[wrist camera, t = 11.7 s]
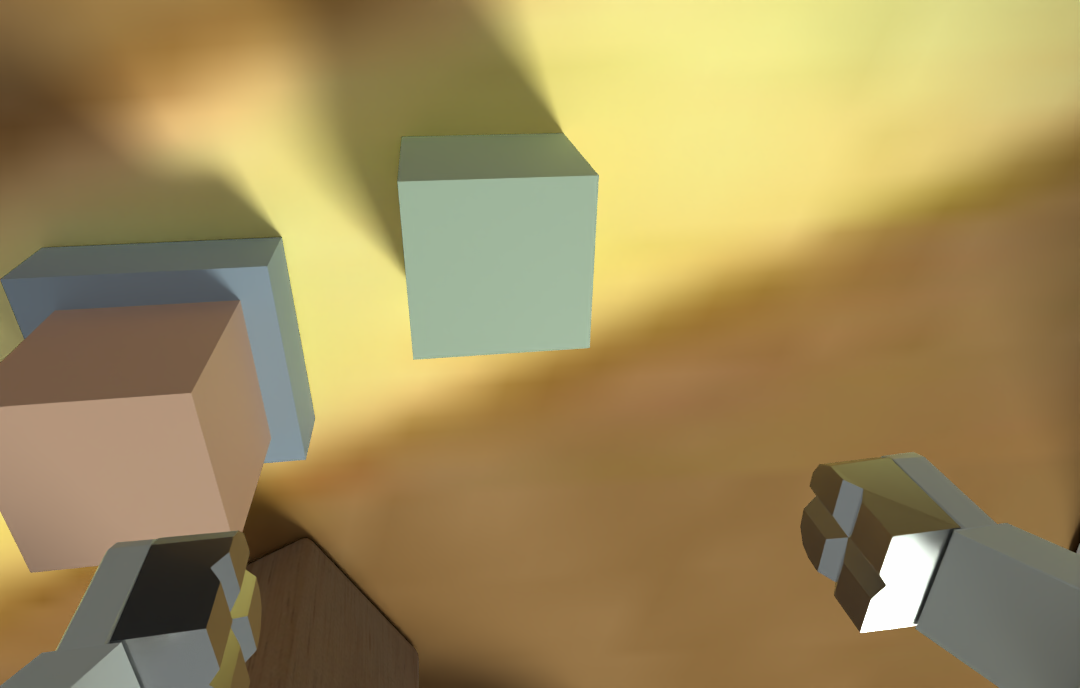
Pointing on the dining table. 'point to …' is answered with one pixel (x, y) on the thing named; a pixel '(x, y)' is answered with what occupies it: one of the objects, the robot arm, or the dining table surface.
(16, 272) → the slate blue block
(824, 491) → the robot arm
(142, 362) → the pinkish brown cube
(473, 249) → the sage green cube
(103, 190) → the dining table surface
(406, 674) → the wooden block
